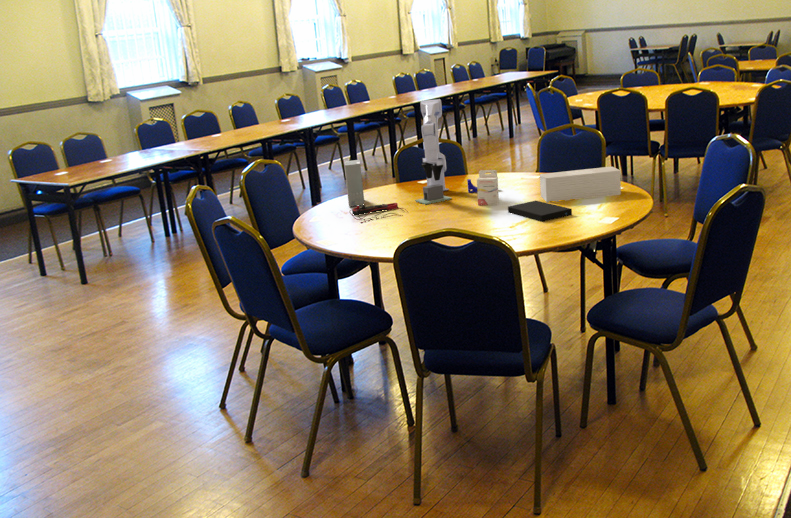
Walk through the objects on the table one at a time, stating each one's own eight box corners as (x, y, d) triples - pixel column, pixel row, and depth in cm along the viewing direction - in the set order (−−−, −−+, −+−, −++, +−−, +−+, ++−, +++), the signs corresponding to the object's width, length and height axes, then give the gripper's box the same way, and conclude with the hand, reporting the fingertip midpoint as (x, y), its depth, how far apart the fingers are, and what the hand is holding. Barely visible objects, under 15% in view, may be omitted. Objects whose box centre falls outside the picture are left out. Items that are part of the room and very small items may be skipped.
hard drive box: (365, 205, 339) (360, 163, 334) (349, 207, 339) (343, 165, 333) (364, 199, 354) (359, 159, 349) (348, 201, 354) (343, 160, 348)
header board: (415, 201, 336) (414, 195, 336) (441, 196, 342) (440, 190, 341) (425, 204, 328) (424, 198, 327) (451, 199, 333) (451, 193, 332)
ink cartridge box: (477, 205, 315) (475, 172, 311) (480, 203, 320) (478, 170, 316) (497, 205, 312) (495, 171, 308) (499, 202, 317) (497, 169, 313)
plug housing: (423, 199, 335) (422, 186, 333) (438, 196, 338) (437, 184, 337) (428, 201, 331) (427, 188, 329) (443, 197, 334) (442, 185, 332)
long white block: (546, 203, 308) (545, 178, 305) (540, 198, 318) (539, 174, 315) (620, 195, 308) (620, 170, 305) (612, 190, 318) (612, 166, 315)
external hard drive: (536, 207, 303) (536, 200, 302) (572, 216, 282) (571, 208, 282) (508, 213, 297) (507, 206, 296) (542, 223, 277) (541, 215, 276)
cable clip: (468, 193, 343) (467, 181, 342) (468, 191, 348) (467, 179, 346) (494, 191, 343) (493, 178, 341) (493, 189, 347) (492, 177, 345)
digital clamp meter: (343, 205, 325) (395, 197, 331) (344, 215, 326) (396, 206, 332) (355, 215, 303) (411, 206, 309) (356, 225, 304) (412, 216, 311)
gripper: (415, 149, 334) (418, 178, 338) (430, 152, 321) (433, 182, 325) (429, 147, 337) (431, 176, 340) (444, 150, 324) (446, 180, 328)
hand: (433, 179), depth 333 cm, fingers open, 7 cm apart
